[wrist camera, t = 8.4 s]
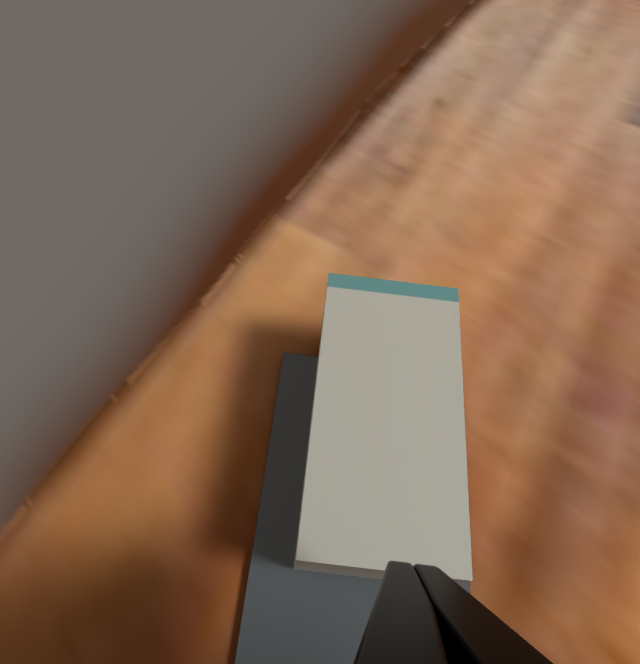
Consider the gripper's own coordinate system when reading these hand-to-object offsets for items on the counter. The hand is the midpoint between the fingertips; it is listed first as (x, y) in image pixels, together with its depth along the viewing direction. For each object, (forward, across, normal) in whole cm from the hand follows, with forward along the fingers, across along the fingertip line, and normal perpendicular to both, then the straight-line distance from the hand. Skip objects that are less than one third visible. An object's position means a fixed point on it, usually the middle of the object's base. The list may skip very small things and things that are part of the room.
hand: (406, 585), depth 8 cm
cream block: (+4, 0, -3) cm, 5 cm away
